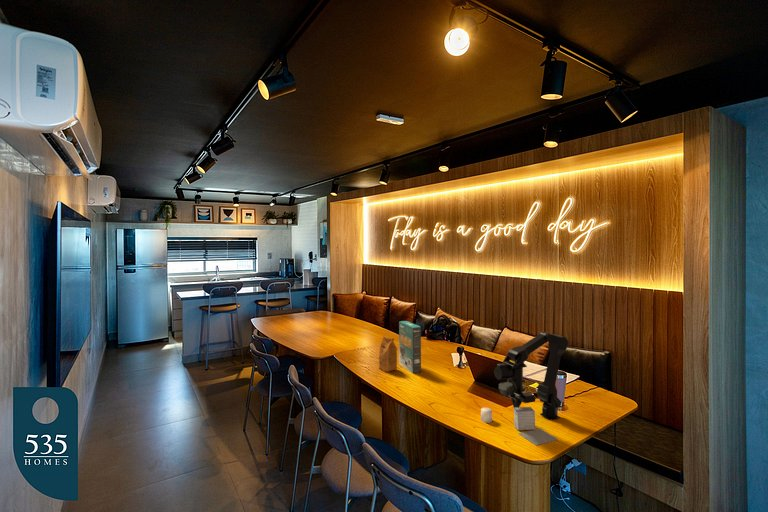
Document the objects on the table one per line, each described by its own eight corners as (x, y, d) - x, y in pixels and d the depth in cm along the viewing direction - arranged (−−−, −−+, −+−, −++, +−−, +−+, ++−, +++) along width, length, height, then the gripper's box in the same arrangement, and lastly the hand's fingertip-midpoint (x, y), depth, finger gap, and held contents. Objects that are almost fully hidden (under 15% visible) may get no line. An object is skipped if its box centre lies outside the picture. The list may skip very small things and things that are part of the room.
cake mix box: (420, 372, 241) (421, 326, 240) (412, 373, 239) (412, 327, 238) (406, 362, 261) (406, 320, 261) (399, 363, 259) (399, 321, 259)
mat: (540, 429, 164) (540, 428, 164) (558, 440, 155) (558, 439, 155) (518, 434, 160) (518, 433, 160) (535, 445, 151) (535, 444, 151)
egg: (487, 417, 176) (487, 406, 176) (494, 421, 172) (494, 411, 172) (478, 418, 174) (478, 408, 174) (485, 423, 170) (485, 412, 170)
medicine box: (531, 425, 167) (530, 406, 167) (535, 430, 163) (535, 410, 163) (514, 426, 167) (513, 407, 167) (518, 430, 163) (517, 411, 163)
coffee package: (388, 365, 255) (388, 334, 255) (398, 370, 245) (398, 337, 244) (376, 367, 250) (376, 335, 250) (386, 373, 239) (386, 339, 239)
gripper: (489, 372, 176) (489, 404, 176) (516, 386, 158) (515, 422, 158) (508, 369, 180) (507, 401, 180) (536, 382, 162) (536, 417, 162)
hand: (516, 410), depth 170 cm, fingers closed
